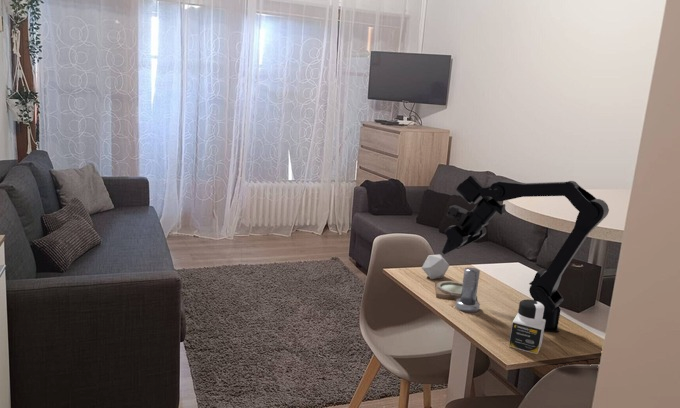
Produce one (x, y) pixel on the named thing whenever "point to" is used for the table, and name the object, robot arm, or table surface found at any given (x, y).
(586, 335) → the table surface
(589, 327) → the table surface
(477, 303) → the silver round peg
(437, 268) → the die
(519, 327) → the medicine bottle
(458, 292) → the board
